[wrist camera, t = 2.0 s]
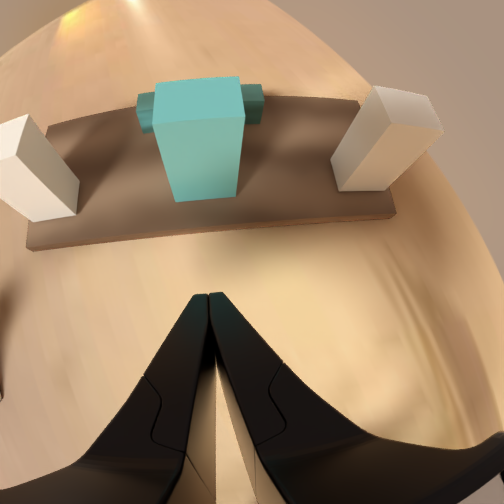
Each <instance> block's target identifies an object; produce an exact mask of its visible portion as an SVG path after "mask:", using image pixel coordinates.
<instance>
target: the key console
mask: <svg viewBox="0 0 504 504" xmlns="http://www.w3.org/2000/svg"><path fill="white" fill-rule="evenodd" d="M240 86H241V93H242V99H243V105H244V112H245V122H244V130H243V138H242V147H241V155H240V163H239V172H238V181H237V190H236V197H228V198H216V199H204V200H194V201H184V202H175V199H174V196H173V193H172V190H171V186H170V183H169V180H168V177H167V174H166V170H165V167H164V164H163V160H162V157H161V154H160V150H159V147H158V143H157V140H156V136H155V133H154V129H153V126H152V120H153V108H154V97H155V92H149V93H143V94H138V100H137V106H136V107H130V108H124V109H119V110H113V111H108V112H103V113H99V114H94V115H90V116H85V117H81V118H77V119H73V120H69V121H65V122H61V123H58V124H54V125H51V126H48V129H47V133H46V136H45V137H46V138H47V140H48V141H49V142H50V144H51V145H52V146H53V148H54V149H55V150H56V152H57V153H58V154H59V156H60V157H61V158H62V159H63V161H64V162H65V163H66V165H67V166H68V167H69V168H70V170H71V171H72V172H73V173H74V175H75V176H76V177H77V178H78V180H79V181H80V184H79V192H78V201H77V211H76V215H74V216H68V217H62V218H56V219H50V220H44V221H38V222H32V221H31V220H29V222H28V230H27V240H26V248H27V249H29V250H31V251H33V252H34V251H41V250H49V249H57V248H65V247H73V246H81V245H90V244H98V243H107V242H116V241H125V240H134V239H144V238H153V237H163V236H173V235H183V234H193V233H204V232H215V231H226V230H237V229H249V228H261V227H273V226H285V225H298V224H312V223H326V222H341V221H356V220H372V219H389V218H391V217H392V216H394V215H395V214H396V210H395V206H394V202H393V199H392V196H391V192H390V189H389V187H388V188H387V189H386V190H385V191H339V190H338V187H337V183H336V179H335V175H334V171H333V167H332V164H331V160H330V159H331V157H332V156H333V154H334V152H335V151H336V149H337V147H338V146H339V144H340V142H341V141H342V139H343V137H344V135H345V134H346V132H347V130H348V129H349V127H350V125H351V124H352V122H353V120H354V119H355V117H356V115H357V114H358V112H359V110H360V106H359V103H358V101H354V100H344V99H332V98H318V97H297V96H264V95H263V91H262V86H261V84H244V85H240Z"/></svg>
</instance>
